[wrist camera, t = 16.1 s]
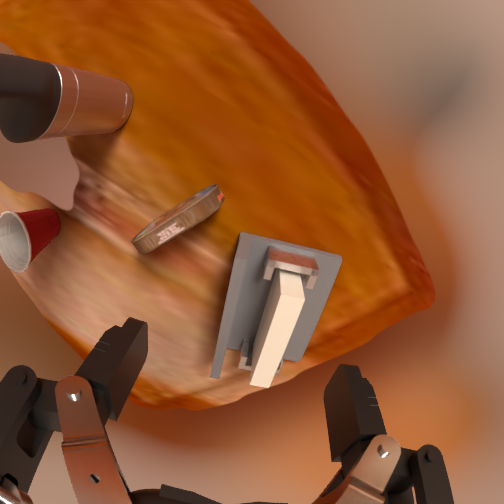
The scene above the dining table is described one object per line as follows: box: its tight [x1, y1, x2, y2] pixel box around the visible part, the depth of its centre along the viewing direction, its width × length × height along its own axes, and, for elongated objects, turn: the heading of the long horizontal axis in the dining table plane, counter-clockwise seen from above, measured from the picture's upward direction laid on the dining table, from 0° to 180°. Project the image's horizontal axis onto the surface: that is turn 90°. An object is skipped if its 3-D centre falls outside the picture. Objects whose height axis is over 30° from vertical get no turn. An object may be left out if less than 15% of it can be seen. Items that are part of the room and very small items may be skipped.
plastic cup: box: [0, 208, 60, 273], centre depth 38 cm, size 11×11×12 cm
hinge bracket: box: [210, 232, 343, 379], centre depth 43 cm, size 16×22×10 cm
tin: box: [131, 184, 225, 255], centre depth 38 cm, size 15×3×8 cm, turn 119°
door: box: [250, 268, 305, 388], centre depth 41 cm, size 4×17×10 cm, turn 167°
